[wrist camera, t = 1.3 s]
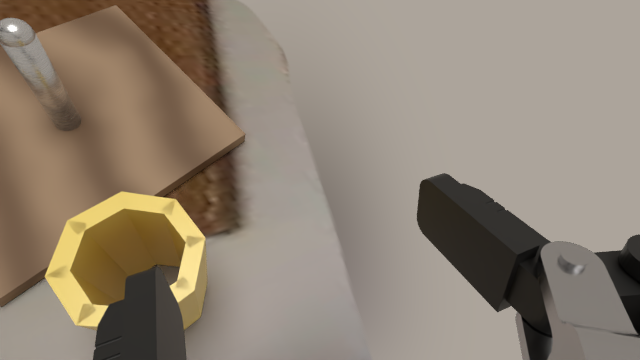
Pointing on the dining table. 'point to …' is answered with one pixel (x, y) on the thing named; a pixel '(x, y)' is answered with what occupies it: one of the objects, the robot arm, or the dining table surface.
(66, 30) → the board
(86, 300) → the yellow hollow tube
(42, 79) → the steel post
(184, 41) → the dining table surface
